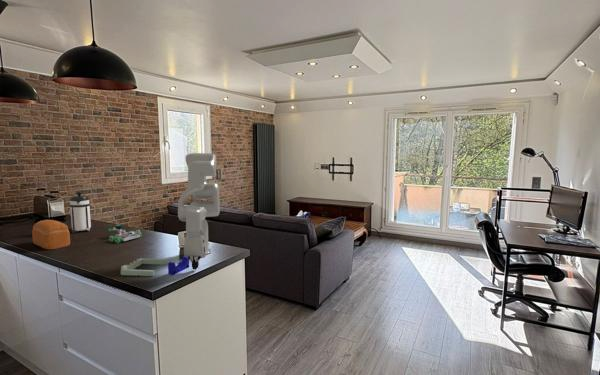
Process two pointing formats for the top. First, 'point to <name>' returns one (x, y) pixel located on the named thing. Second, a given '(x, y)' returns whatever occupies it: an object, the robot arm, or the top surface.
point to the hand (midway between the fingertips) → (195, 268)
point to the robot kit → (123, 235)
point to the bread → (50, 234)
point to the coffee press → (80, 213)
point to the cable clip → (178, 266)
